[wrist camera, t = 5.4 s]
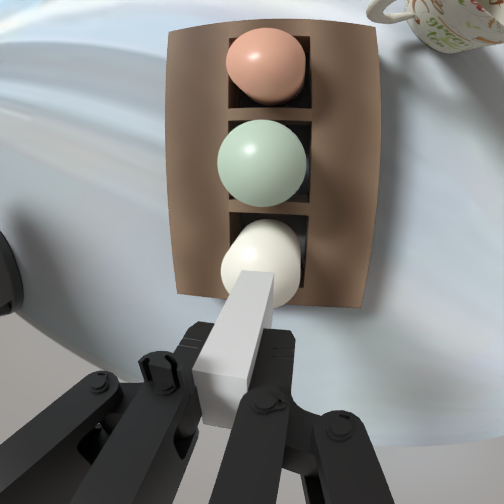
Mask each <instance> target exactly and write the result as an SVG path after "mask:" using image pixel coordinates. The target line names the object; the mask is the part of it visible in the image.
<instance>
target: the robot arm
mask: <svg viewBox="0 0 504 504" xmlns="http://www.w3.org/2000/svg"><path fill="white" fill-rule="evenodd" d="M273 290H274V272H260V271H247V270H242V271H241V273H240V275H239V277H238V279H237V281H236V283H235V285H234V287H233V289H232V291H231V293H230V295H229V297H228V299H227V301H226V303H225V305H224V307H223V309H222V311H221V313H220V315H219V317H218V319H217V321H216V323H215V324H214V323H206V322H199V321H198V322H197V323H195V324H194V325H193V326H191V327H190V328H189V329H188V330H187V332H186V333H185V335H184V337H183V339H182V340H181V342H180V343H179V346H177V348H176V350H175V351H174V353H171V352H168V351H156V352H151V353H149V354H147V355H145V356H143V357H142V358H141V359H140V360H139V361H138V363H139V366H140V369H141V372H142V375H143V378H144V383H119V381H118V378H117V377H116V376H115V375H114V374H113V373H111V372H108V371H96V372H93V373H91V374H89V375H87V376H86V377H85V378H83V379H82V380H81V381H80V382H78V383H77V384H76V385H74V386H73V387H72V388H71V389H70V390H68V391H67V392H66V393H64V394H63V395H62V396H61V397H59V398H58V399H57V400H56V401H54V402H53V403H52V404H51V405H49V406H48V407H47V408H46V409H45V410H43V411H42V412H41V413H39V414H38V415H37V416H36V417H34V418H33V419H32V420H31V421H29V422H28V423H27V424H26V425H24V426H23V427H22V428H21V429H19V430H18V431H17V432H16V433H15V434H13V435H12V436H11V437H10V438H8V439H7V440H6V441H4V442H3V443H2V444H1V445H0V504H172V503H173V500H174V498H175V495H176V493H177V490H178V488H179V485H180V482H181V480H182V478H183V475H184V473H185V470H186V467H187V465H188V462H189V460H190V457H191V454H192V452H193V449H194V447H195V444H196V442H197V439H198V435H199V430H198V427H197V426H198V423H199V421H200V418H201V416H202V420H203V423H204V424H207V425H212V426H217V427H222V428H228V429H232V430H231V433H230V437H229V440H228V443H227V447H226V450H225V453H224V457H223V460H222V463H221V466H220V469H219V472H218V476H217V479H216V483H215V485H214V488H213V491H212V495H211V498H210V500H209V504H276V499H277V494H278V488H279V481H280V475H281V469H282V468H284V469H287V470H289V471H292V472H295V473H298V474H300V475H301V480H302V485H303V490H304V495H305V500H306V504H395V503H394V500H393V498H392V495H391V492H390V490H389V487H388V484H387V482H386V479H385V476H384V474H383V471H382V469H381V466H380V463H379V461H378V458H377V456H376V453H375V451H374V448H373V446H372V443H371V441H370V438H369V436H368V433H367V431H366V429H365V426H364V424H363V423H362V421H361V420H360V418H359V417H357V416H356V415H354V414H353V413H351V412H347V411H343V410H336V411H330V412H328V413H325V414H323V415H322V416H320V415H316V414H313V413H310V412H308V411H305V410H303V409H302V408H300V407H299V406H298V405H297V404H296V403H295V402H294V401H293V398H292V396H291V385H292V374H293V364H294V351H295V338H294V336H293V334H292V332H291V331H290V330H278V329H271V325H272V314H273ZM22 302H23V288H22V283H21V278H20V274H19V271H18V268H17V265H16V262H15V259H14V257H13V254H12V252H11V250H10V248H9V246H8V244H7V242H6V240H5V239H4V237H3V235H2V234H1V233H0V316H4V315H8V314H11V313H13V312H14V311H16V310H17V309H18V308H20V307H21V305H22ZM98 423H99V424H98ZM97 424H98V425H97Z"/></svg>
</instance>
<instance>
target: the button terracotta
mask: <svg viewBox="0 0 504 504" xmlns="http://www.w3.org/2000/svg"><path fill="white" fill-rule="evenodd" d="M305 61H306V60H305V54H304V50H303V48H302V46H301V45H300V43H299V42H298V41H297V40H296V39H295V38H294V37H293V36H291V35H290V34H288V33H286V32H284V31H282V30H279V29H274V28H259V29H254V30H251V31H249V32H246V33H244V34H243V35H241V36H240V37H239V38H237V39H236V40H235V41H234V42H233V44H232V45H231V47H230V48H229V51H228V53H227V57H226V68H227V72H228V74H229V76H230V78H231V79H232V81H233V82H234V83H235V84H236V85H237V86H238V87H239V88H240V89H241V90H242V91H243V92H244V93H245V94H246V95H247V96H248V97H250V98H251V99H252V100H253V101H255V102H257V103H259V104H262V105H267V106H278V105H283V104H286V103H288V102H290V101H291V100H293V99H294V98H295V97H296V96H297V95H298V94H299V93H300V92H301V90H302V88H303V85H304V79H305Z"/></svg>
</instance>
